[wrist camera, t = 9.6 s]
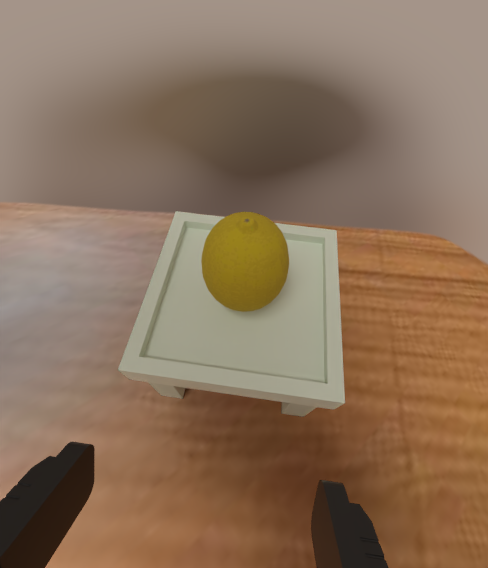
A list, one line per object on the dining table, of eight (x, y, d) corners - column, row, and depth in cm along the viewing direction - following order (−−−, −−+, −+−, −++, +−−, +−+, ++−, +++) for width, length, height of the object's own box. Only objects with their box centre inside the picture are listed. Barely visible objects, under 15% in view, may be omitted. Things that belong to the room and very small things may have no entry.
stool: (154, 400, 26) (117, 369, 18) (190, 274, 34) (175, 211, 25) (309, 423, 26) (345, 403, 17) (310, 289, 33) (336, 230, 25)
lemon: (255, 256, 24) (263, 174, 17) (294, 308, 22) (321, 236, 15) (194, 284, 22) (177, 205, 16) (228, 343, 20) (225, 280, 13)
